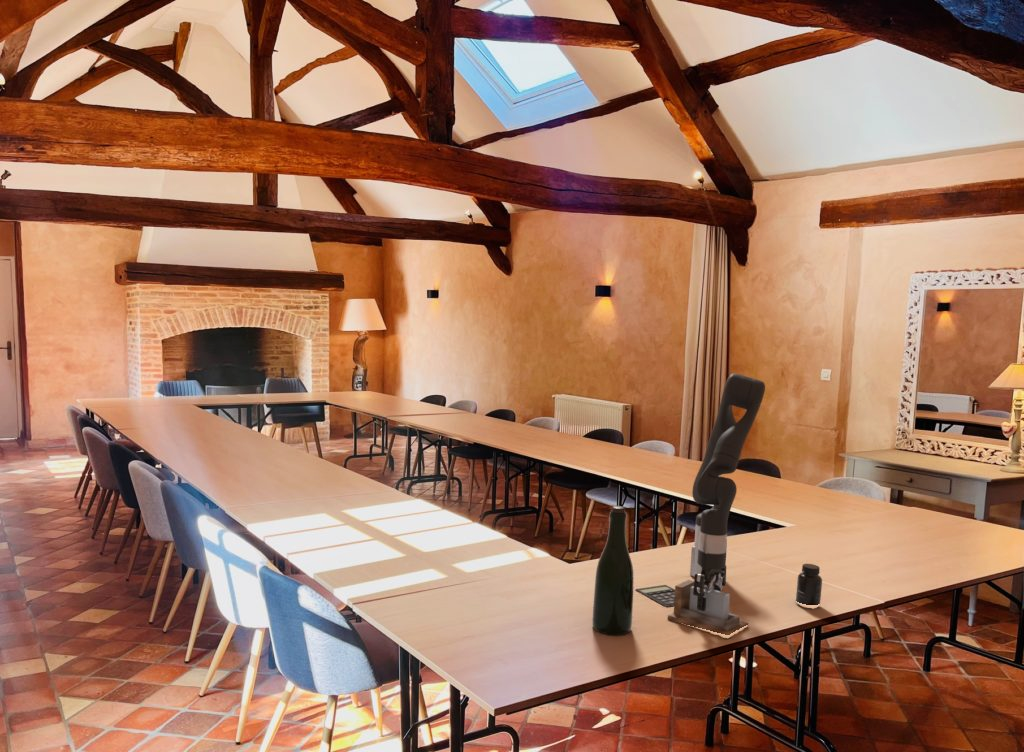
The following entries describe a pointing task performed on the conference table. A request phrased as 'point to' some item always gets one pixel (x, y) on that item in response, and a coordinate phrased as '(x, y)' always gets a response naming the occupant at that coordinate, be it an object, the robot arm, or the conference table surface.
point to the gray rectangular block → (712, 604)
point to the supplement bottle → (809, 585)
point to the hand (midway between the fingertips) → (708, 606)
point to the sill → (698, 619)
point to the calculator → (659, 594)
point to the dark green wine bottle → (614, 580)
